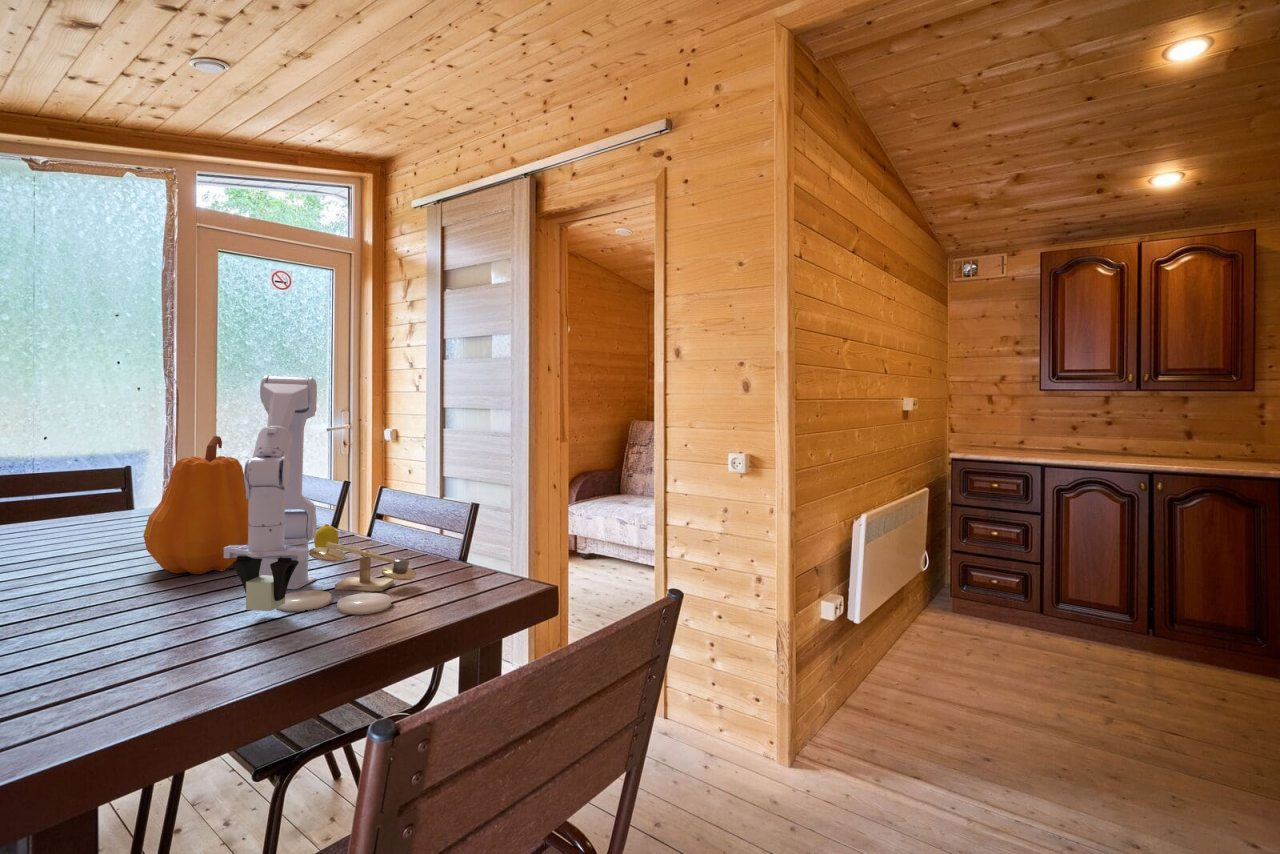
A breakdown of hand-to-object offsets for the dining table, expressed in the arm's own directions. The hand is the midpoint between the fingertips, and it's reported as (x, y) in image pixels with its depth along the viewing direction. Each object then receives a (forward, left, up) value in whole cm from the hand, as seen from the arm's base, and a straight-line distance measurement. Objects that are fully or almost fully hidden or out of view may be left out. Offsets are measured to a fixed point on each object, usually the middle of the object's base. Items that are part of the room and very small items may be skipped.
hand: (265, 598), depth 119 cm
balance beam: (+7, +22, +1) cm, 23 cm away
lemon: (-13, +46, -4) cm, 48 cm away
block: (0, 0, -1) cm, 1 cm away
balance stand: (+8, +22, -4) cm, 24 cm away
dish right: (+14, +9, -4) cm, 17 cm away
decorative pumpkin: (-33, +31, -4) cm, 45 cm away
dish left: (+2, +9, -4) cm, 10 cm away
